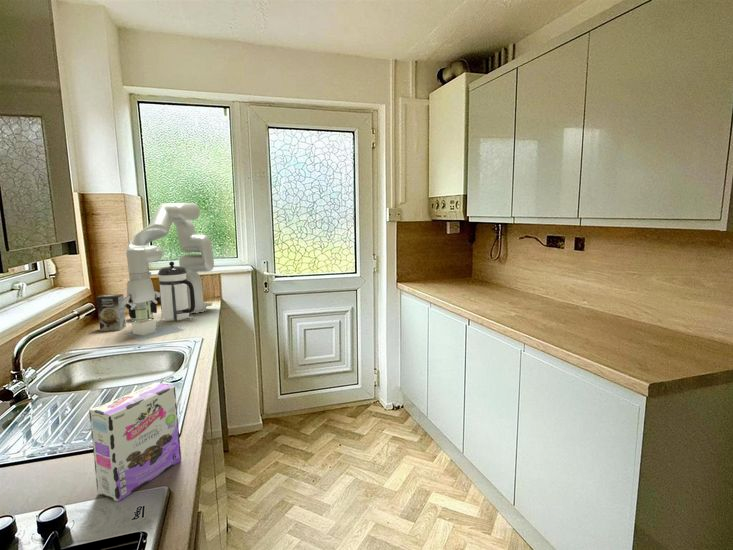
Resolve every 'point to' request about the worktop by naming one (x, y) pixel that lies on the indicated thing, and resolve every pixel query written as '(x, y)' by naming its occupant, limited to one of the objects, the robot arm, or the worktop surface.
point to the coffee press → (175, 293)
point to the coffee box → (111, 312)
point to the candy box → (134, 439)
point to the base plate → (157, 332)
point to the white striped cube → (144, 327)
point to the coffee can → (143, 311)
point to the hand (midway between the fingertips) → (143, 315)
